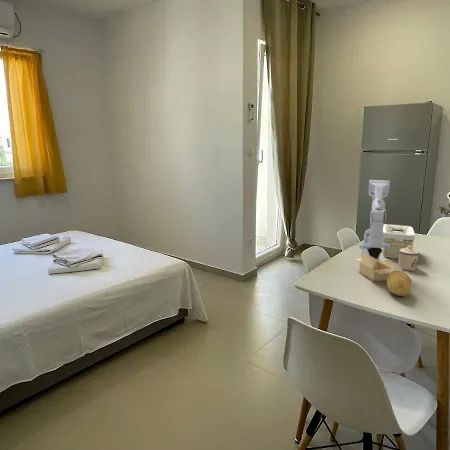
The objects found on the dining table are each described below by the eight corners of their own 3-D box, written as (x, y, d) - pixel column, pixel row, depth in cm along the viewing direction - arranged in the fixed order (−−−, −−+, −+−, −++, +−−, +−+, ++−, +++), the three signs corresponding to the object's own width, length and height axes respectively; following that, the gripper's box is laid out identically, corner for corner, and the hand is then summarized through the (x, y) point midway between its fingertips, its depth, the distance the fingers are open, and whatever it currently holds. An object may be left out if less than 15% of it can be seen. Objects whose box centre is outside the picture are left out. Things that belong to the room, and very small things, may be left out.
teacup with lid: (414, 272, 180) (417, 249, 178) (395, 268, 186) (397, 246, 184) (420, 266, 190) (423, 244, 187) (401, 262, 195) (404, 241, 193)
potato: (413, 291, 157) (415, 270, 155) (407, 302, 146) (409, 280, 144) (388, 285, 163) (390, 265, 161) (380, 296, 151) (382, 274, 149)
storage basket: (412, 261, 198) (415, 234, 195) (380, 257, 205) (383, 231, 201) (409, 249, 220) (412, 226, 217) (380, 246, 226) (383, 223, 223)
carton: (354, 268, 185) (355, 253, 183) (380, 267, 187) (382, 252, 186) (379, 285, 164) (380, 268, 162) (409, 283, 166) (411, 266, 164)
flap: (361, 262, 178) (359, 262, 178) (365, 253, 177) (364, 252, 177) (373, 269, 168) (371, 269, 168) (377, 259, 167) (376, 259, 167)
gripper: (366, 237, 166) (363, 266, 169) (395, 236, 168) (392, 264, 171) (358, 234, 173) (355, 261, 176) (386, 233, 175) (383, 260, 178)
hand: (373, 262), depth 174 cm, fingers closed
